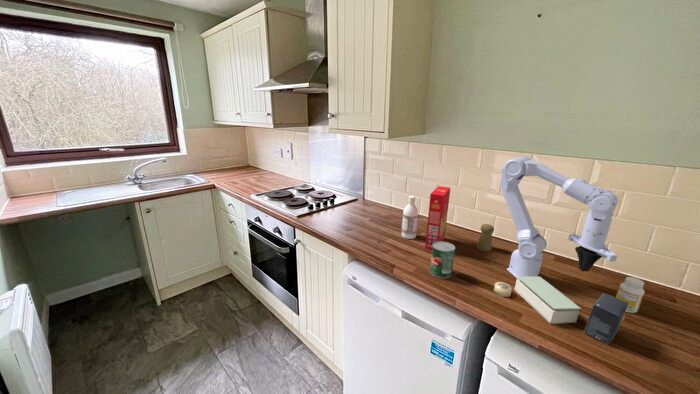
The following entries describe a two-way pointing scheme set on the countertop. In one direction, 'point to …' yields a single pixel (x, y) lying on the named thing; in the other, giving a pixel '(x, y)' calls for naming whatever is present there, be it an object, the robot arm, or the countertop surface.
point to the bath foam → (410, 219)
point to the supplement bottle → (631, 293)
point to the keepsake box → (545, 306)
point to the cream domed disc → (502, 289)
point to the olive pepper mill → (485, 238)
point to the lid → (549, 293)
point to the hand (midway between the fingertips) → (583, 270)
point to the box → (606, 318)
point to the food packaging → (437, 216)
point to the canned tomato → (442, 259)
